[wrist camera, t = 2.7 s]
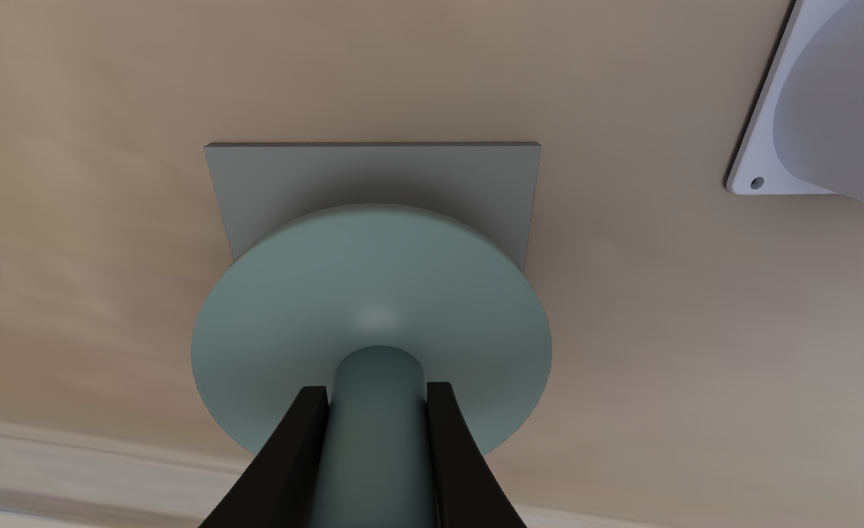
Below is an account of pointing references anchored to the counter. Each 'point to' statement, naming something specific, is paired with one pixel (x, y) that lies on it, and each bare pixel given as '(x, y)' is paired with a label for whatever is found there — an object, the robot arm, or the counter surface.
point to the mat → (377, 184)
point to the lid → (372, 349)
